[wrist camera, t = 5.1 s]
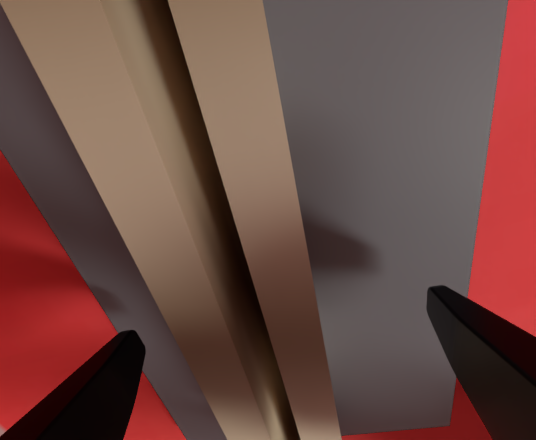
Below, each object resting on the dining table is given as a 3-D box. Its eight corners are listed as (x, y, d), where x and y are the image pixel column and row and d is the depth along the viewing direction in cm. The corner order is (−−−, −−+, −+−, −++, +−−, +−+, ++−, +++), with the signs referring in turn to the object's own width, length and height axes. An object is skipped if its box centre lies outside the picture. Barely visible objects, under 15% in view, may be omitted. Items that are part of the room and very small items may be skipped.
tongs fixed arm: (339, 428, 14) (364, 564, 10) (286, 433, 14) (292, 567, 11) (224, -209, 5) (49, -1187, 1) (87, -160, 5) (-430, -790, 1)
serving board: (439, 404, 15) (449, 425, 14) (197, 428, 16) (193, 449, 15) (515, -358, 5) (570, -454, 4) (-126, -118, 6) (-190, -148, 5)
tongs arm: (297, 401, 13) (306, 529, 9) (274, 403, 13) (275, 531, 9) (131, -192, 5) (-236, -861, 1) (78, -172, 5) (-386, -739, 1)
